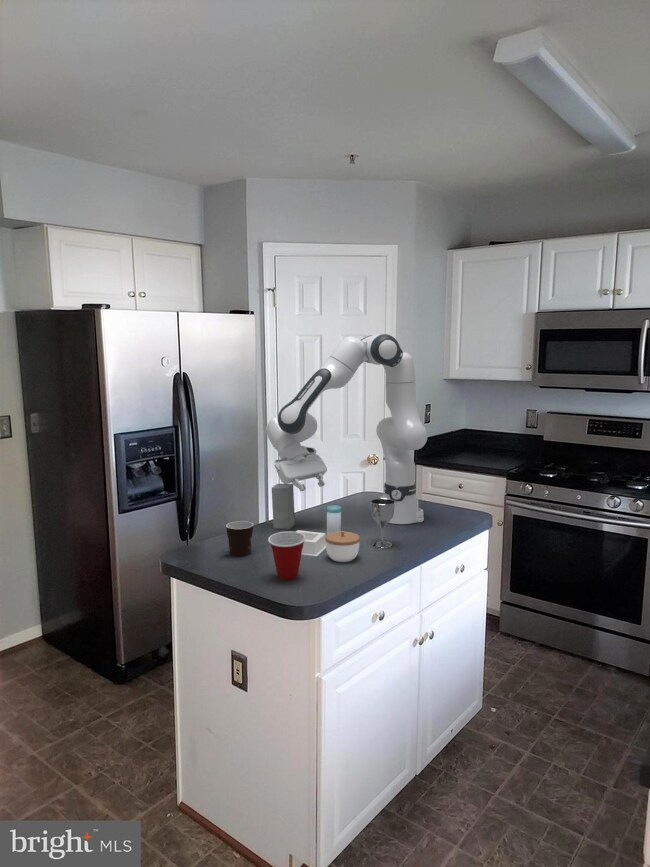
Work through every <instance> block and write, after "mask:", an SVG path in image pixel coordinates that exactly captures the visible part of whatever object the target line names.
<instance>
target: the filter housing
mask: <svg viewBox="0 0 650 867" xmlns="http://www.w3.org/2000/svg"><path fill="white" fill-rule="evenodd" d="M295 532H299V533H302V534H304V535H305V537H306V539H305V541H304V544H303V548H302V554H301V555H303V556H313V557H318V556H319V555H320V554H321V553H322V552H324V550H326V540H325V536H326V535H327V532H317V531H308V530H301V529H297V530H296V531H295Z"/></svg>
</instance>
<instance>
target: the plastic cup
mask: <svg viewBox="0 0 650 867" xmlns="http://www.w3.org/2000/svg"><path fill="white" fill-rule="evenodd" d="M267 538H268V540H267V541H268V544H270V546H271V551H272V554H273V562H274V565H275V566H274V567H275V568H276V570H275V572H276V575H277V578H278V579H280V580H281V581H282V580H284V581H292V580H295V579H297V577H298V575H299V570H300V566H301V559H302V555H303V554H302V548H303V544H304V541H305V539H306V537H305V535H304V534H302V533H299V532H296V531H290V530H289V531H287V530H286V531H280V532H279V531H278V532H275V533H274V534H271V535H270V536H269V537H267Z"/></svg>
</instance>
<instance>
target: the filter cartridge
mask: <svg viewBox="0 0 650 867" xmlns="http://www.w3.org/2000/svg"><path fill="white" fill-rule="evenodd" d="M341 531H342V506H341V505H338V504H337V505H336V504H333V505H328V506H326V535H327V534H329V533H332V532H341Z"/></svg>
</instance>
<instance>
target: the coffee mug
mask: <svg viewBox="0 0 650 867" xmlns="http://www.w3.org/2000/svg"><path fill="white" fill-rule="evenodd" d="M225 528H226V534H227V542H228V549H229V555H230V556H232V557H237V558H239V557H241V558H242V557H247V556H249V555H250V554H251V553H252V544H253V533H254V523H253V522H251V521H247V520H239V521H236V520H235V521H232V522H229V523H227V524H226V525H225Z"/></svg>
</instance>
